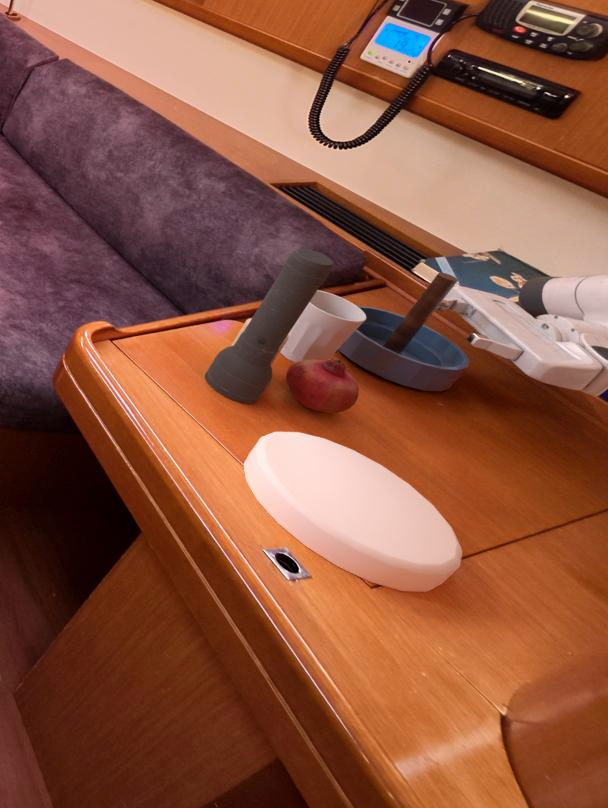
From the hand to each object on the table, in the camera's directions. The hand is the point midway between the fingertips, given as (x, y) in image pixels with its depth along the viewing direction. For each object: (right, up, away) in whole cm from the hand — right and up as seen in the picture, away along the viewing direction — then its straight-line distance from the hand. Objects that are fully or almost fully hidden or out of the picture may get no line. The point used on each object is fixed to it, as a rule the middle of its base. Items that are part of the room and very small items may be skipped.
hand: (450, 320), depth 106 cm
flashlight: (-38, -12, 0) cm, 40 cm away
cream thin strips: (-31, -10, +5) cm, 33 cm away
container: (-41, -21, -19) cm, 50 cm away
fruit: (-28, -13, -3) cm, 31 cm away
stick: (-4, -9, +6) cm, 11 cm away
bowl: (-4, -9, +7) cm, 12 cm away
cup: (-19, -9, +7) cm, 22 cm away
